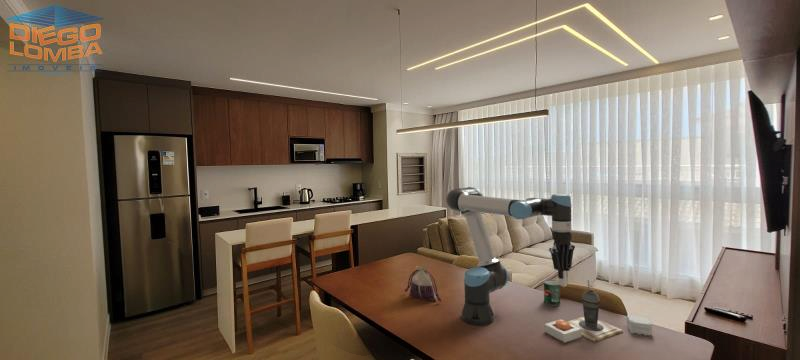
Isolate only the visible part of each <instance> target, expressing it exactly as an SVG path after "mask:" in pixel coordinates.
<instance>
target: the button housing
mask: <svg viewBox="0 0 800 360" xmlns="http://www.w3.org/2000/svg"><path fill="white" fill-rule="evenodd" d="M559 320H561V321H565V320H564V319H562V318H561V319H558V320H554V321H550V322H547V323H544V332H545V333H546V334H548V335H550V336H552V337H554V338H555V339H557V340H559V341H561V342H563V343H567V342H570V341H571V342H572V341H575V340H577V339H580V338H582V336H581V328H579V327H576V326H574V325H572V324H570V330H567V331H562V330H560V329H558V328H556V321H559Z"/></svg>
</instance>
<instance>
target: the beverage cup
mask: <svg viewBox="0 0 800 360" xmlns="http://www.w3.org/2000/svg"><path fill="white" fill-rule="evenodd" d="M587 287H588V290H585V291H584V292H583V293H582V295H581V298H580V299H581V303H582V307H583V308H582V309H583V317H584V319H585V325H586V326H587V327H589V328H597V323H598V320H599V307H600V304H601V299H600V296H599V295H598V293H597V292H595V291H594V290H591V288H590V280H589V279H587Z"/></svg>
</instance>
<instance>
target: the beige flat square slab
mask: <svg viewBox="0 0 800 360" xmlns="http://www.w3.org/2000/svg"><path fill="white" fill-rule="evenodd" d="M566 322H568V323H570V324H572V325H574V326H576V327H579V328H581V337H584V338H586V339H588V340H590V341H591V342H593V343H594V342H599V341H601V340H604V339H607V338H610V337H612V336H616V335H618V334H621V333H623V329H621V328H619V327H617V326H614V325H613V324H612V325H611V324H609V323H607V322H606V321H603V320H600V319H598V323H597V328H589V327H587V326H586V325H585V319H584V316H581V317H578V318H575V319H571V320H569V321H568V320H567V321H566Z"/></svg>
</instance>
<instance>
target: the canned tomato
mask: <svg viewBox="0 0 800 360" xmlns="http://www.w3.org/2000/svg"><path fill="white" fill-rule="evenodd" d="M543 301H544V302H543V303H544V304H546V305H548V306H560V305H561V285H559V280H554V279H545V280H544V281H543Z"/></svg>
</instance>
